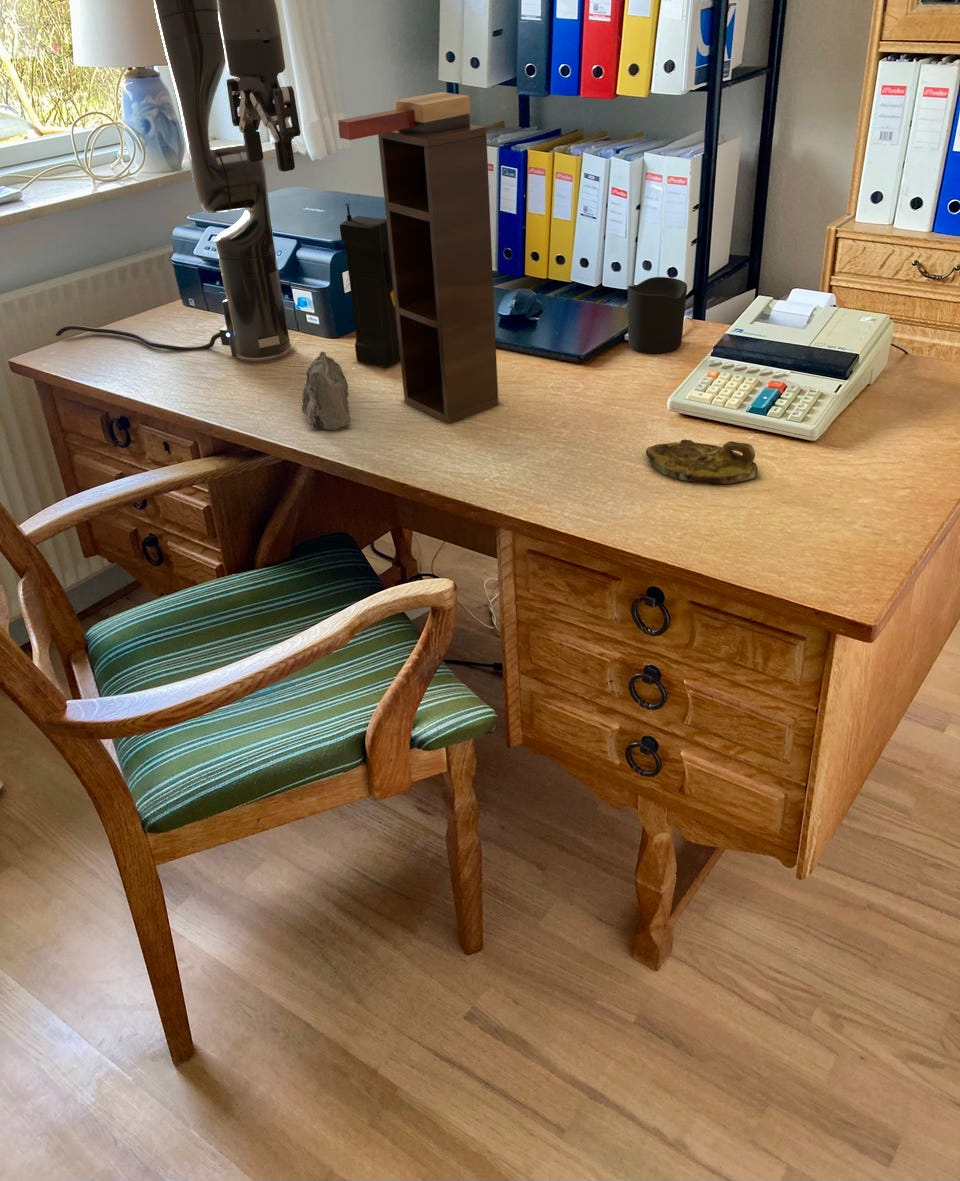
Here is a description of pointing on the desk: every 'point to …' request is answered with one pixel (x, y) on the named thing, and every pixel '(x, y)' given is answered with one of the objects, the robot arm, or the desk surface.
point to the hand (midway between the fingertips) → (271, 165)
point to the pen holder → (656, 315)
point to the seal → (704, 461)
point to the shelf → (442, 268)
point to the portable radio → (371, 289)
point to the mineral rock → (326, 394)
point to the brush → (412, 116)
